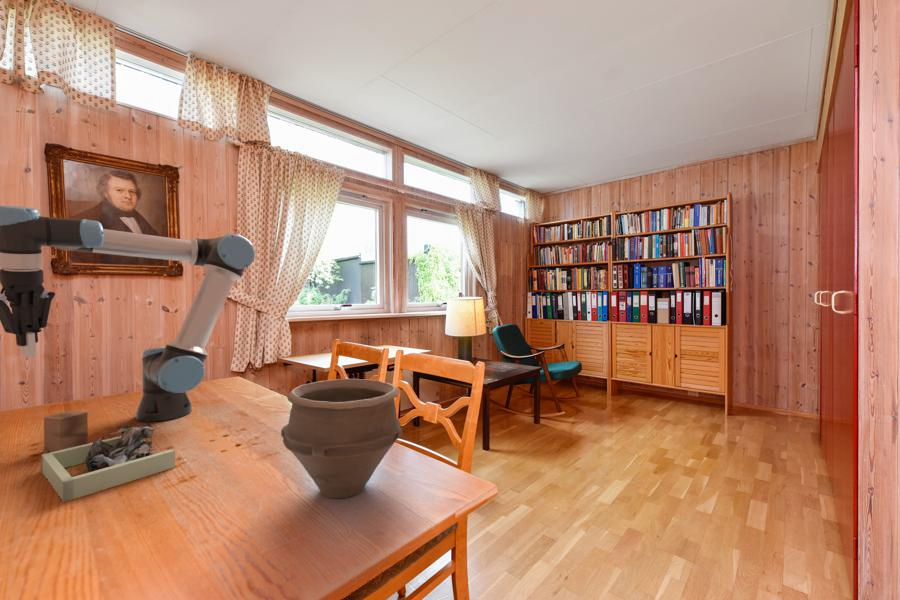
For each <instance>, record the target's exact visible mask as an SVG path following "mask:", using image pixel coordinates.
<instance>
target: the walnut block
mask: <svg viewBox="0 0 900 600" xmlns="http://www.w3.org/2000/svg"><path fill="white" fill-rule="evenodd" d="M88 413H89V412H88V411H87V412H86V411H80V410H79V411H77V410H68V411H65V412H60V413H56V414H53V415H48V416H44V417H43V424H44V425H43V438H44V439H43V442H44V444H43V447H44V449H43V450H44V452H45V451H49V452H48V453H50V452H55V451H59V450H63V449H68V448H72V447H76V446H80V445H85V444H89V442H88V441H89V439H88V438H89V437H88V435H89V433H88V431H89V429H88V428H89V427H88V426H89V425H88V424H89V423H88Z"/></svg>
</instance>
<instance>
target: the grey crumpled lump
mask: <svg viewBox="0 0 900 600" xmlns="http://www.w3.org/2000/svg"><path fill="white" fill-rule="evenodd" d="M106 430H107V431H110V433H109V434H108V435H107V436H103V437H101V438H98V439H97V440H95V441H93V442H92V443H93V445H92V446H93V447H92V446H91V448H92V449H91V448H90V449H91V450H90V451H89V452H88V454H87V456H86V460H85V463H84V464H85V467H86V471H87V472H88V473H89V472H93V471H96V470H97V468H104V465H106V464H108V466H109V467H111V466H114V465H118V464H121V463H125V462H128V461H132V460H136V459H139V458H143V457H146V456H147V455H146V454H148V453H150V452H153V451H154V449H152V447H153V446H152V444H153V439H152V438H153V437H154V435H153V433H154V430H155V427H153V426H151V425H150V424H149V423H147V422H146V423H145V424H143V425H141V426H140V425H139V426H135V427H134V426H133V425H129V423H128V422H127V423H125V424H124V425H123V426H122V427H120V428H119V430H116V431H113V430H114V428H110V429H106ZM112 431H113V432H112ZM111 432H112V433H111ZM120 433H121V434H122V435H121V436H122V437H121V438H120V440H119V442H118V443H117V444H116V445H115V446H112V445H110V444H107V443H105V442H103V441H102V440H106V438H108V437H109V436H111V435H115V434H120ZM142 439H145V440H146V439H152V440H146V441H143V442H142V441H141V440H142ZM128 441H129V444H128V446H126V447H124V445H125V444H126V443H127V442H128ZM124 448H125V449H124ZM122 450H123V451H122ZM115 452H116V453H118V454H116V455H113V453H115ZM119 452H120V453H119Z"/></svg>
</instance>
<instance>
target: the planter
mask: <svg viewBox="0 0 900 600" xmlns="http://www.w3.org/2000/svg"><path fill="white" fill-rule="evenodd" d="M399 391H400V390H399V388H397V386H396V385H393V384H392V383H388V382H384V381H380V380H375V379H365V378H363V379H360V378H339V379H329V380H328V379H327V380H320V381H315V382H310V383H306V384H305V383H304V384H301V385H298V386H297V387H295V388H293V389H291V391H289V393H288V394H287V396H286V397H287V401H288V402H290V403H291V409H290V411H289V419H288V424H286V425H284V426H283V427H282V428H281V430H280V431H281V432H280V435H281V437H282V443H283V445H284V447H285V448H286V449H287V450H289V451H290V452H291V453H292V454H293V455H294V457H296V459H297V460H298V461H299V463H300V464H301V465H302V466H303V468H304V470H305V471H306V472H307V474H308V475H309V476H310V478H311V479H312V480H313V482H314V483H315V485H316V486H317V488H318V490H319V492H320V493H321V494H322V495H323V496H324V497H326V498H330V499H338V500H339V499H346V498H351V497H354V496H356V495H357V494H359V493H361V492H362V491H363V489H364V488H365V486H366V485H367V484H368V482H369V480H370V479H371V477H372V476H373V474H374V472H375V471H376V469H377V468H378V466H380V463H381V462H382V461H383V459H384V457H385V456H386V455H387V453H388V452H389V451H390V449H391V448H392V447H393V446H394V444H395V443H396V441H397V440H398V439H400V438H401V437H402V435H403V434H404V433H403V432H404V430H403V428H401V422H400V420H399V419H398V418H397V412H396V411H397V408H396V403H395V398H397V397H398V396H399V393H400V392H399Z"/></svg>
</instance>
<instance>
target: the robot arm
mask: <svg viewBox="0 0 900 600" xmlns="http://www.w3.org/2000/svg"><path fill="white" fill-rule="evenodd" d="M42 247H53V248H55V249H57V250H60V251H63V252H83V253H96V254H104V255H113V256H114V255H115V256H125V257H135V258H136V257H137V258H145V259H155V260H156V259H157V260H166V261H177V262H187V263H188V264H189V265H190V266H197V267H203V268H204V269H205V270H206V272H205V275H204V276H203V279H202V281H201V283H200V285H199V287H198V290H197V292H196V294H195V296H194V298H193V301H192V303H191V304H190V307H189V309H188V312H187V313H186V315H185V318H184V319H183V322H182V324H181V325H180V326H181V327H180V329H179V330H178V333H177V335H176V337H175V339H174V340H172V341H170V342H168V343H167V344H166V345H165V347H157V348H156V347H154V348H147V349H145V350H143V352H142V358H141V361H142V396H141V399H140V402H139V404H138V407H137V410H136V412H135V418H136V421H138V422H146V423H147V422H148V423H149V422H151V423H153V422H162V421H168V420H173V419H177V418H181V417H184V416H186V415H189V414H190V413H192V411H193V410H192V407H193V405H192V402H191V400H190V398H189V395H188V393H187V392H190V391H191V390H194V389H195V388H196V387H198V385H200V384H201V382H203V380H204V377H205V373H206V372H205V371H206V369H205V365H204V364H205V362H206V359H207V357H208V355H209V354H208V352H207V350H206V346H207V344H208V342H209V339H210V337H211V335H212V333H213V331H214V328H215V325H216V324H217V322H218V319H219V317H220V314H221V312H222V309H223V307H224V305H225V303H226V301H227V298H228V296H229V294H230V291H231V289H232V287H233V284H234V283H235V282H236V281H239V280H241V279H242V276H243V274H244V272H245V269H247V268H248V267H250V266H251V265H252V264H253V262H254V261H255V258H256V251H255V247H254V245H253V243H252V242H251V241H250V240H249V239H248V238H246V237H244V236H242V235H239V234H232V233H231V234H225V235H223V236H219V237H214V238H213V237H211V238H196V237H192V238H190V239H184V238H183V239H181V238H174V237H167V236H159V235H152V234H151V235H150V234H144V233H136V232H130V231H123V230H122V231H121V230H114V229H108V228H107V229H106V228H104V227H103V225H102V223H101V222H100V221H98V220H91V219H86V218H82V219H78V218H63V217H49V216H42V215H41V214H40V211H39V209H37V208H34V207H27V206H20V205H19V206H17V205H0V268H1V269H0V285H1V290H0V323H1V325H2V328H3V330H4V332H5V333H6V334H7V333H8V334H13V335H15V340H16V345H17V346H18V347H19V350H20V357H23V358H24V357H25V358H30V359H31V358H34V357H37V348H36V347H37V346H36V344H38V343H39V336H38V335H39V334H38V333H41V332H42V329H45V328H46V327H47V325H48V318H49V314H50V308H51V305H52V301H53V299H54V297H55V296H56V293H55V292H54V291H49V290H47V289H45V286H44V285H43V283H45V279H44V270H43V269H42V268H43V267H44V262H43V261H44V259H43V253H42ZM8 304H9V305H8Z"/></svg>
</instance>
